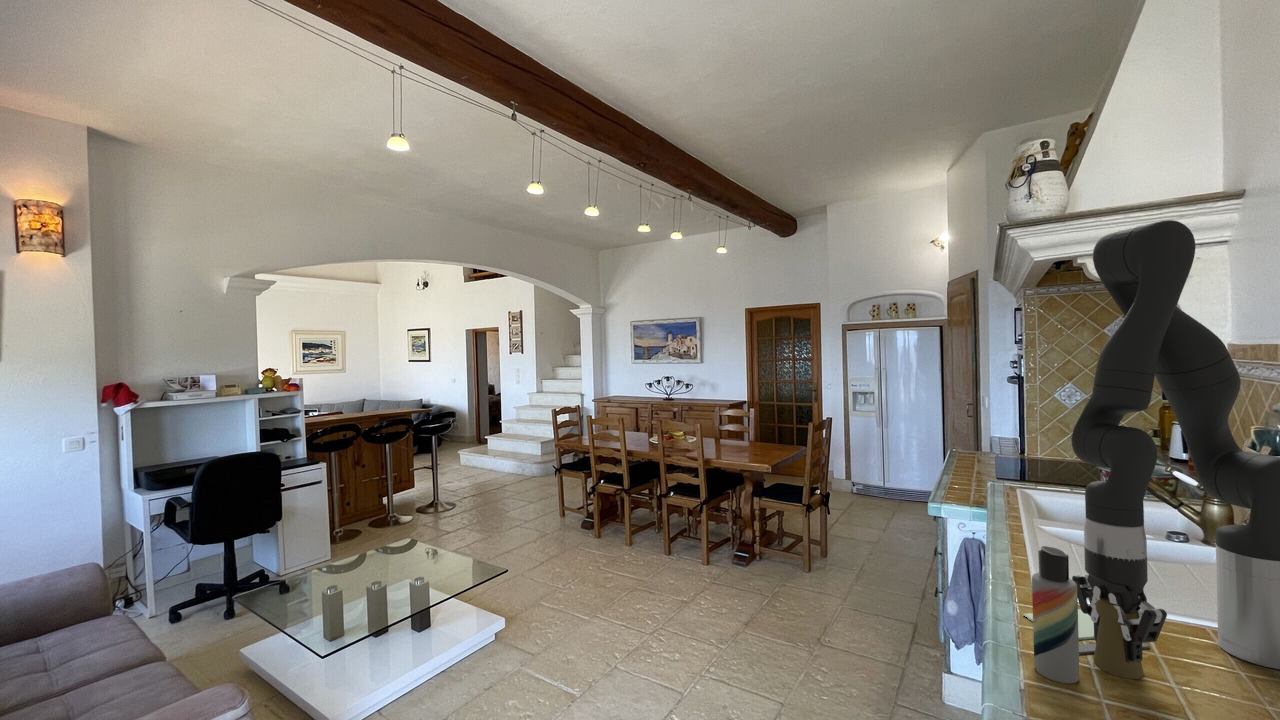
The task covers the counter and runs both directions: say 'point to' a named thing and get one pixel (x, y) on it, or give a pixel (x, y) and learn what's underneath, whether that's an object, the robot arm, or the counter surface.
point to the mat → (1083, 625)
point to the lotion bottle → (1055, 618)
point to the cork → (1113, 643)
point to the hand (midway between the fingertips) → (1117, 653)
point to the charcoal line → (1091, 647)
